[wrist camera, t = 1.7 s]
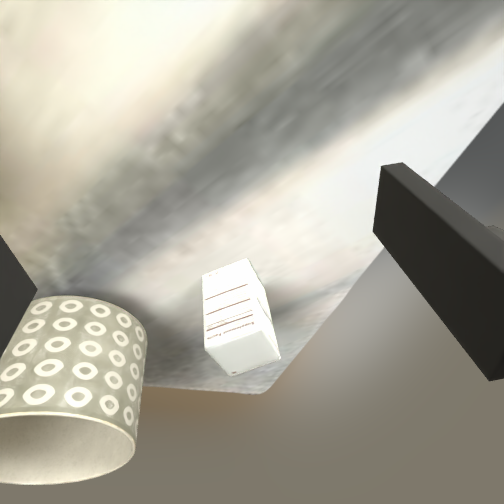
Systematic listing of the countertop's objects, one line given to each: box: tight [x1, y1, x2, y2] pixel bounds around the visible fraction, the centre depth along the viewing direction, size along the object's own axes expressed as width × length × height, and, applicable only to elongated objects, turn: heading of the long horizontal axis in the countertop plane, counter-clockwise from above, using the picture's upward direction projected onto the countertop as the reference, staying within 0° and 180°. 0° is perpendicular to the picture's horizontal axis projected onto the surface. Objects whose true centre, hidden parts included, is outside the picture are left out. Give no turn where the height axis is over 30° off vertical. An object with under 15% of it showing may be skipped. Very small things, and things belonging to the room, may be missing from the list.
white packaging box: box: [202, 259, 281, 377], centre depth 45 cm, size 7×7×13 cm
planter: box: [0, 296, 147, 485], centre depth 44 cm, size 19×19×18 cm
